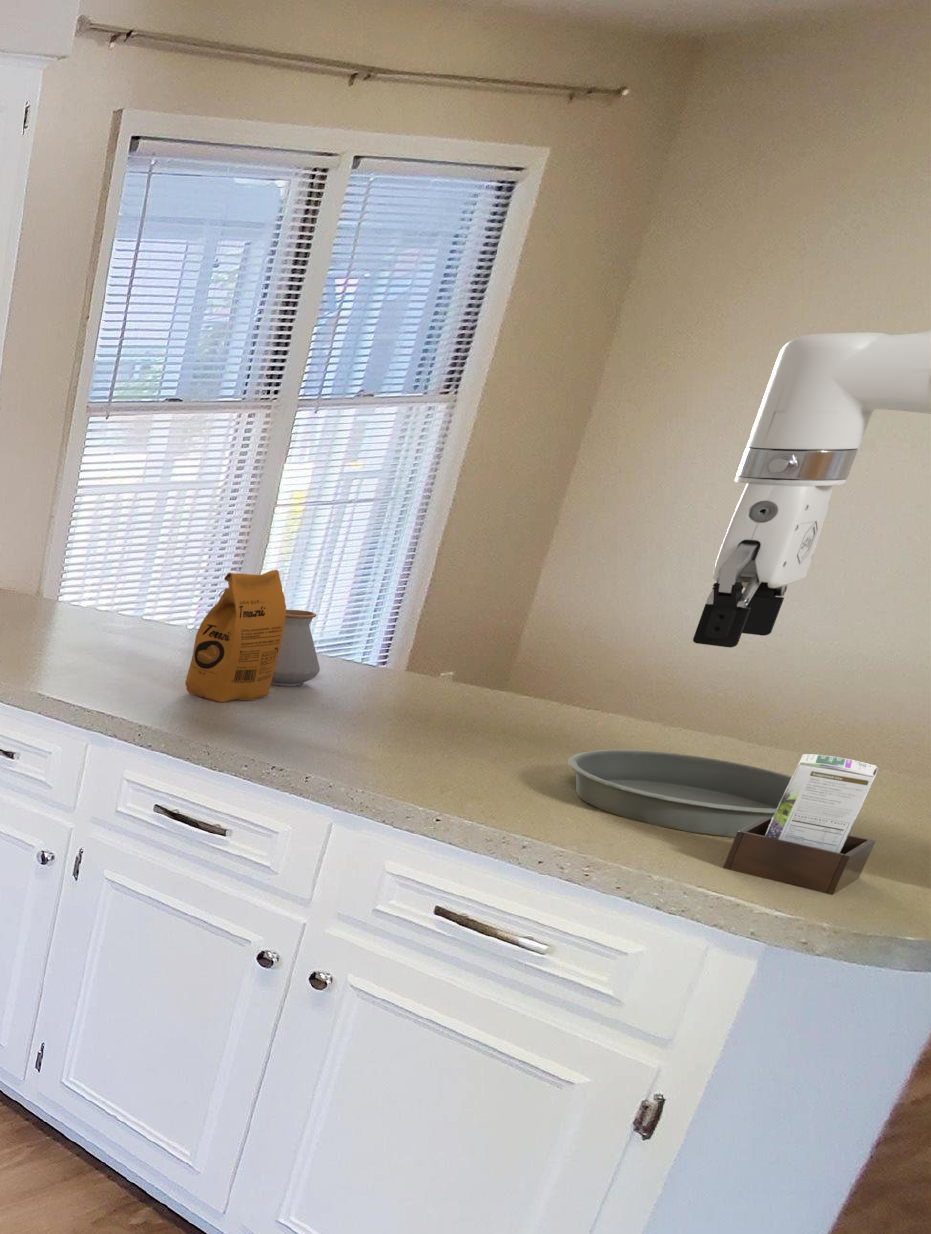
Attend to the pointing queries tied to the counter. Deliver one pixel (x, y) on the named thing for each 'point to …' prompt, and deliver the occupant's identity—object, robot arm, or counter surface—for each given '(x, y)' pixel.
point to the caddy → (797, 860)
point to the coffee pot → (296, 651)
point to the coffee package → (239, 640)
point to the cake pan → (678, 789)
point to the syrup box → (822, 801)
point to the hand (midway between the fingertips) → (731, 639)
